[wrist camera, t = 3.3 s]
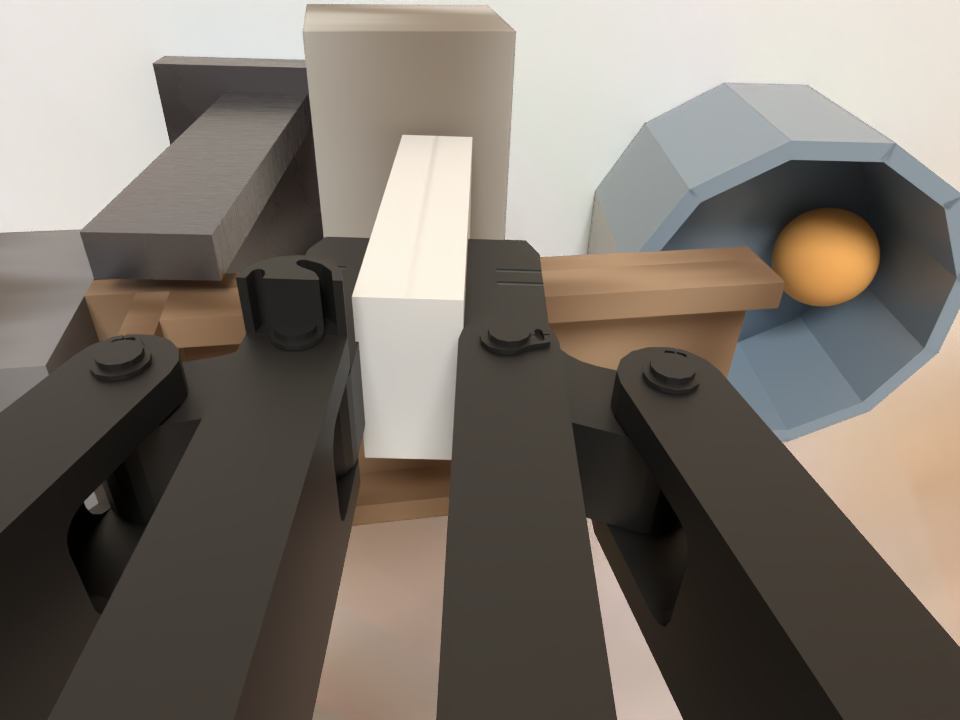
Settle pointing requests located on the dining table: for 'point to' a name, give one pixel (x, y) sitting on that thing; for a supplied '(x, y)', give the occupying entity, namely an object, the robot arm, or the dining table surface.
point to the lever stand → (217, 176)
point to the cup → (762, 216)
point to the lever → (352, 213)
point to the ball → (826, 256)
